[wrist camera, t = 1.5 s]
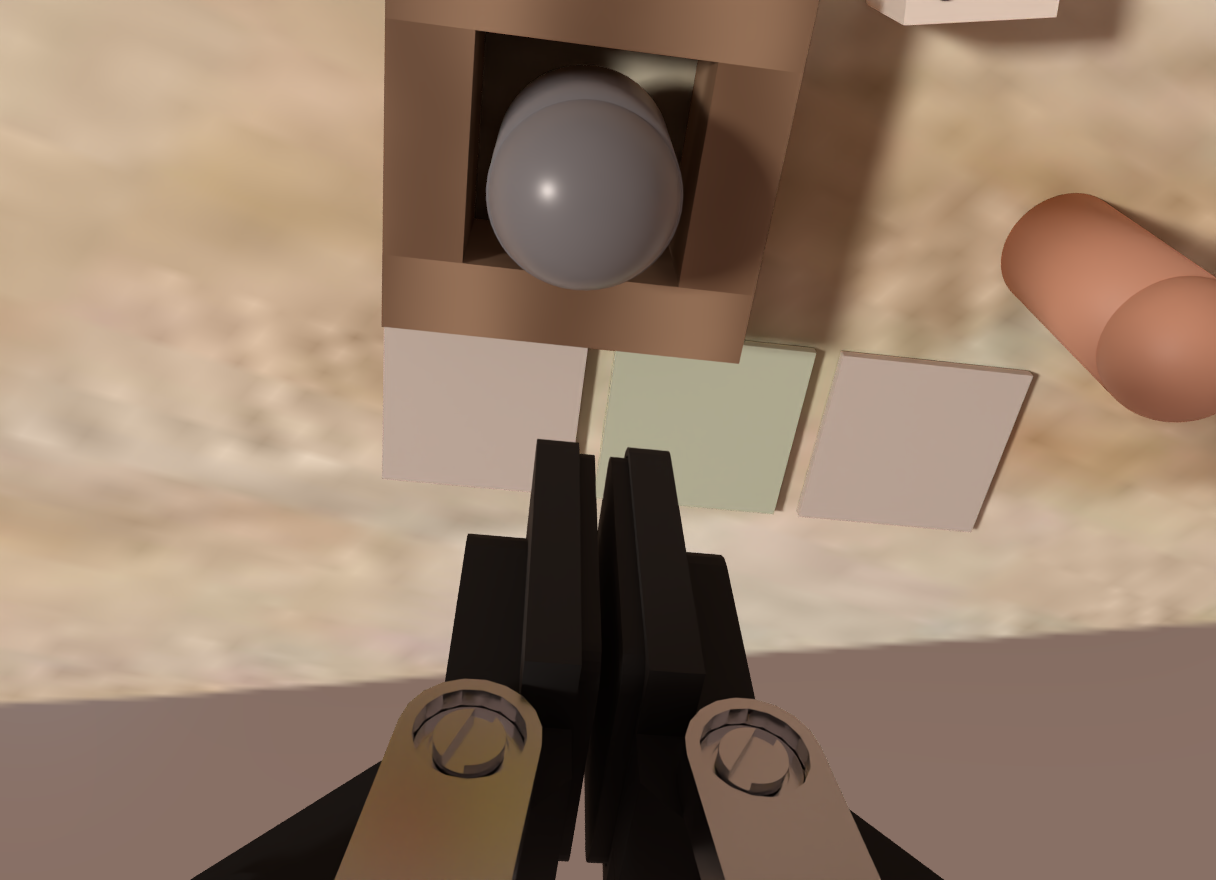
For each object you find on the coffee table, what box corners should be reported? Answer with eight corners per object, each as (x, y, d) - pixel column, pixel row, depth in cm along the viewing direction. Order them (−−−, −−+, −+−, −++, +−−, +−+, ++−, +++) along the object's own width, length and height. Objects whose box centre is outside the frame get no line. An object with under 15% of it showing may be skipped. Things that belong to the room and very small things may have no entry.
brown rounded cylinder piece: (1140, 200, 32) (1329, 320, 24) (1094, 311, 34) (1253, 456, 26) (1025, 186, 32) (1177, 303, 24) (984, 299, 34) (1113, 442, 26)
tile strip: (1029, 370, 36) (1033, 375, 35) (967, 526, 39) (971, 532, 39) (386, 302, 33) (384, 306, 33) (383, 473, 37) (382, 479, 37)
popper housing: (794, -37, 28) (824, -21, 25) (722, 311, 34) (738, 363, 31) (409, -93, 27) (386, -83, 24) (401, 276, 33) (381, 326, 30)
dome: (683, 76, 27) (708, 131, 22) (656, 247, 30) (672, 331, 25) (503, 53, 27) (486, 102, 22) (491, 228, 29) (473, 310, 24)
